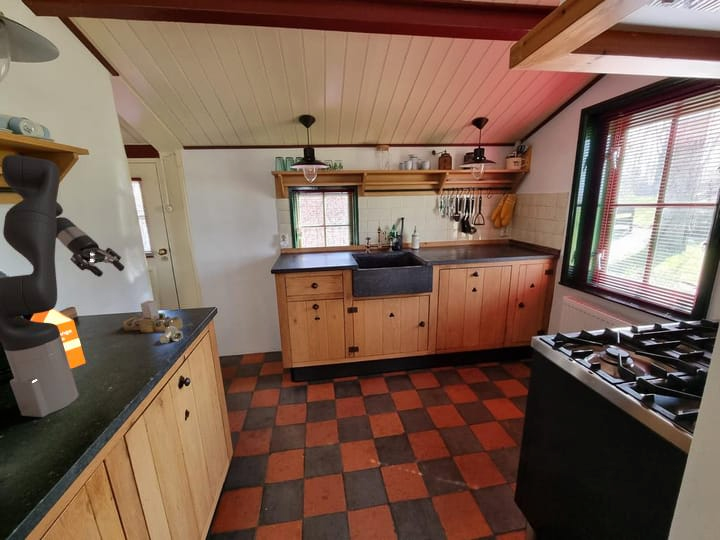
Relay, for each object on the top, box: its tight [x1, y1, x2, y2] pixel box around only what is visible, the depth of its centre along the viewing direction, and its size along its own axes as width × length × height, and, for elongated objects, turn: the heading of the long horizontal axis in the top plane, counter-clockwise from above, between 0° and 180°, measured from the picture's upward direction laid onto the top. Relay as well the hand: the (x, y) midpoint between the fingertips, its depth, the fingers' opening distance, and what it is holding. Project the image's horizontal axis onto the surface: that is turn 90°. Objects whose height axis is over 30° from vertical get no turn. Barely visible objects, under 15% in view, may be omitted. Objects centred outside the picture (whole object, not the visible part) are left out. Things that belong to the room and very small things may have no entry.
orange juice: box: [29, 308, 86, 369], centre depth 90 cm, size 8×9×20 cm
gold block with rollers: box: [122, 312, 184, 333], centre depth 117 cm, size 7×21×5 cm, turn 83°
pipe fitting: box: [158, 326, 184, 344], centre depth 108 cm, size 8×4×7 cm
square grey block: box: [140, 300, 160, 323], centre depth 116 cm, size 4×4×11 cm
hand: (112, 272), depth 111 cm, fingers open, 8 cm apart
